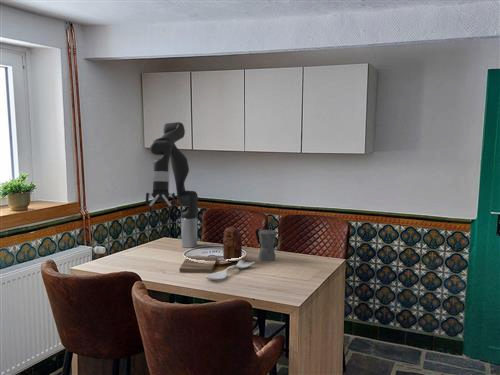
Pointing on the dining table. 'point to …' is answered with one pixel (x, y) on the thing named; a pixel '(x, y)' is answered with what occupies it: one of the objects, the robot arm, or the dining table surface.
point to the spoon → (223, 273)
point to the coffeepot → (266, 244)
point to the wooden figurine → (232, 243)
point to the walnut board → (198, 264)
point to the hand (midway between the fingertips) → (160, 214)
